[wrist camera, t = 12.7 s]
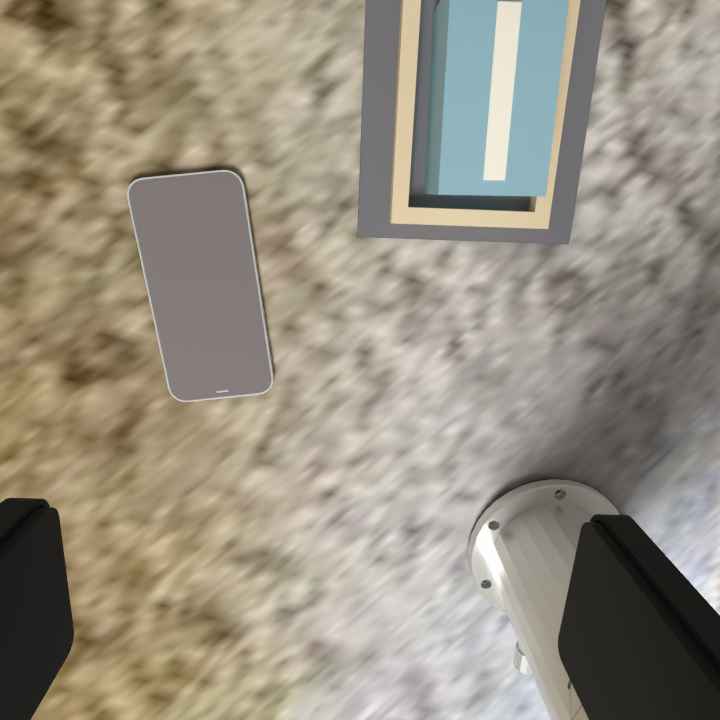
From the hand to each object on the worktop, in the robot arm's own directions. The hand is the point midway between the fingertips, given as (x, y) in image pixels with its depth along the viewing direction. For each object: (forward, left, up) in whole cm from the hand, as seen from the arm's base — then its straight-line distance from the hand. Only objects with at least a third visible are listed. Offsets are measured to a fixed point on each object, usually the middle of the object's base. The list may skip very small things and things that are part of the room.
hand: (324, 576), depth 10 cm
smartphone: (0, +9, -29) cm, 30 cm away
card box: (+12, -9, -28) cm, 31 cm away
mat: (+12, -9, -28) cm, 31 cm away
